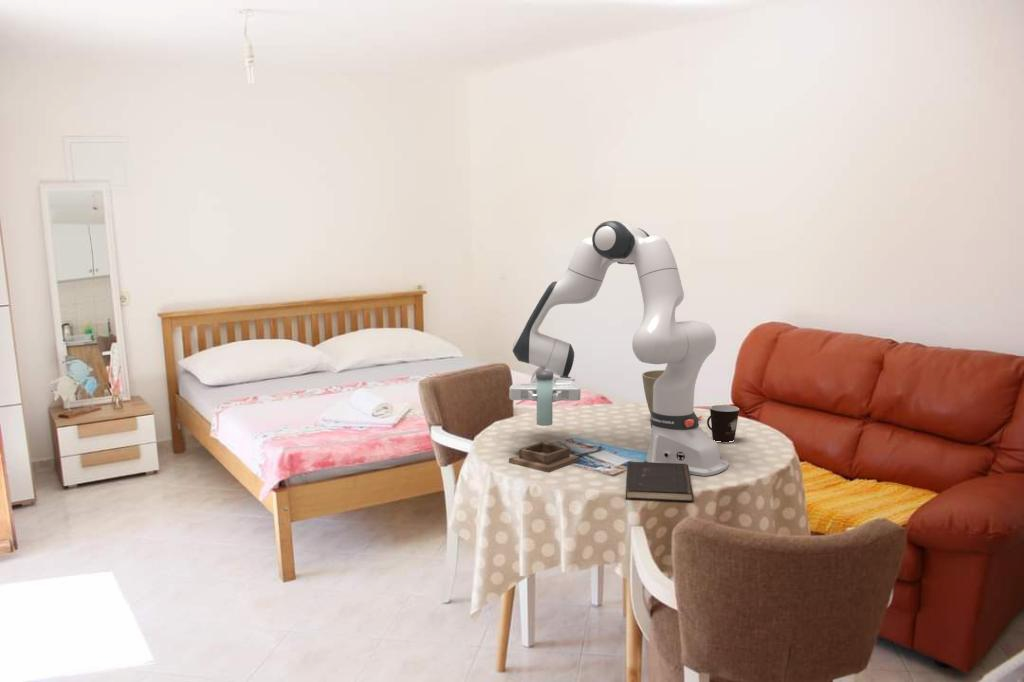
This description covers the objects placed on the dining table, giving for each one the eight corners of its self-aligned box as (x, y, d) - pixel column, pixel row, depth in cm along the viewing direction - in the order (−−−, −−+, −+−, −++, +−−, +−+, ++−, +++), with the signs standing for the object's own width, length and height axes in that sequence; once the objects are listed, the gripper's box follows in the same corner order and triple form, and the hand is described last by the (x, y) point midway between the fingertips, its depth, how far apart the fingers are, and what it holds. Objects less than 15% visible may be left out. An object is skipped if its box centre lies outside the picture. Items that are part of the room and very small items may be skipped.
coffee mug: (729, 435, 262) (730, 404, 261) (743, 443, 254) (744, 410, 252) (694, 438, 259) (695, 406, 258) (707, 445, 251) (708, 412, 250)
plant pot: (635, 417, 286) (636, 371, 284) (677, 415, 289) (678, 369, 286) (650, 428, 272) (651, 379, 269) (693, 426, 274) (695, 377, 272)
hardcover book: (625, 499, 205) (625, 490, 204) (627, 469, 227) (627, 461, 227) (692, 502, 202) (693, 493, 202) (688, 472, 225) (688, 463, 224)
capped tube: (555, 422, 237) (555, 371, 235) (549, 426, 233) (550, 374, 230) (539, 421, 239) (539, 370, 236) (533, 425, 234) (533, 373, 232)
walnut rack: (579, 460, 237) (579, 447, 236) (548, 472, 226) (548, 458, 226) (540, 451, 246) (540, 439, 245) (509, 462, 235) (508, 449, 235)
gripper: (509, 376, 247) (506, 386, 234) (579, 377, 246) (581, 387, 233) (509, 398, 248) (507, 408, 235) (579, 398, 247) (580, 409, 234)
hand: (544, 398), depth 234 cm, fingers closed on capped tube, 4 cm apart
